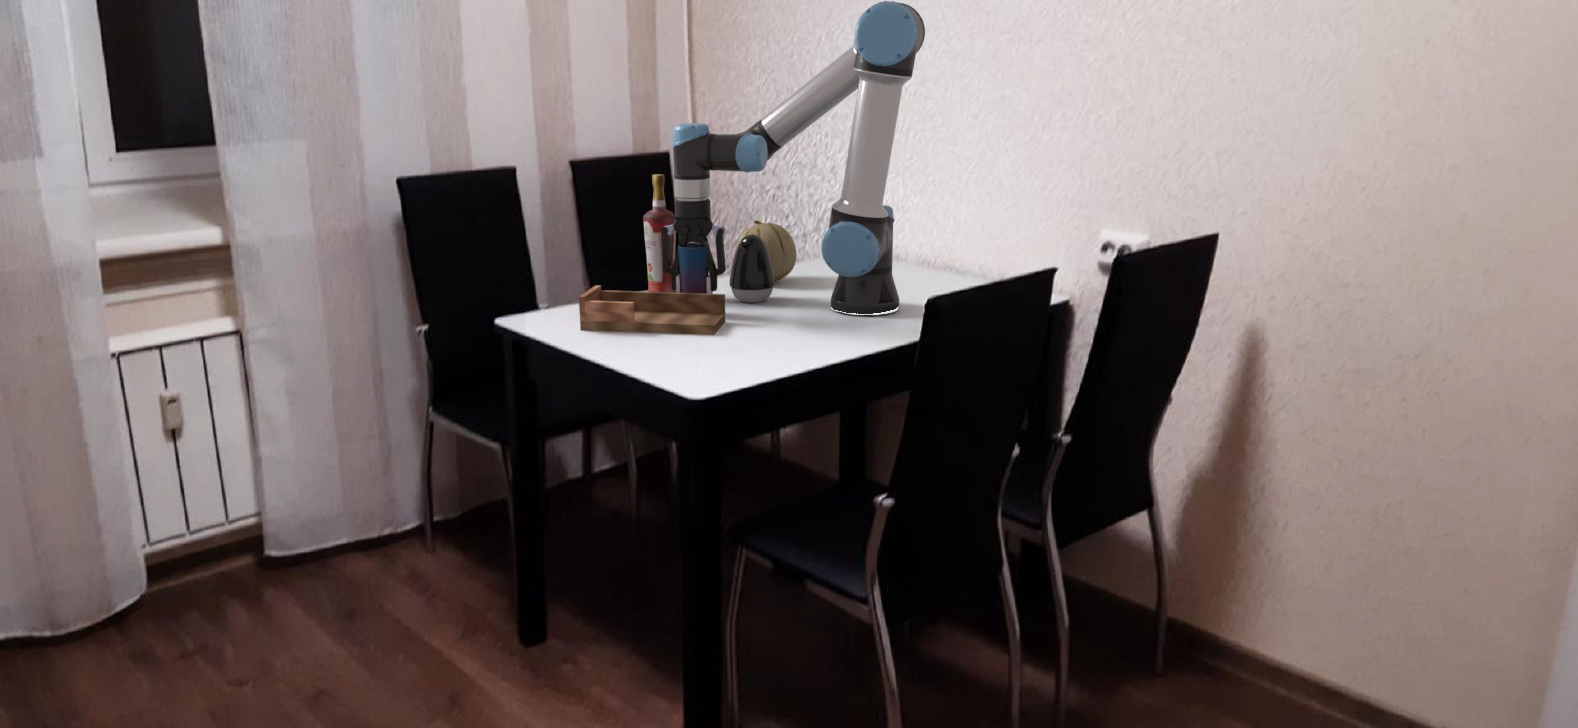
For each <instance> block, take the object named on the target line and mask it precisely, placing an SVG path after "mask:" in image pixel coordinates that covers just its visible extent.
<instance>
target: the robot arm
mask: <svg viewBox="0 0 1578 728" xmlns="http://www.w3.org/2000/svg"><path fill="white" fill-rule="evenodd" d="M925 37H926V27H925V23H924V20H923V18H922V16H921V13H919V12H918V11H917V10H916V8H914V7H913V6H911V5H909V4H907V3H906V4H905V3H903V2H896V1H894V0H892V1H891V0H888V1H887V0H884V1H880V2H876V3H874V4H872V5H871V6H870V7H868V8H867V9H865V11H864V12H863V13H862V14H861V15H860V16H859V18H858V21H857V22H856V25H855V31H854V39H853V45H852V46H851V47H850V48H849V49H847V50H846V51H845V52H843V53H842V54H841V55H840V56H838V57H837V58H836V59H835V60H833V61H832V62H831V63H830V64H829V65H828V66H826V67H825V68H823V69H822V70H821V71H819V72H818V73H817V74H816V75H815V76H814V77H812V78H811V79H809V80H808V81H807V82H806V83H804V85H802V86H800V87H799V88H798V89H797V90H795V91H794V92H793V93H792V94H791V95H790V96H789V97H787V98H786V99H784V100H783V101H781V103H779V104H778V105H777V106H776V107H774V108H773V109H772V110H771V111H769V112H768V113H767V114H766V115H765V116H763V117H762V118H760V119H759V120H758V121H756V123H754V124H753V125H752V126H751V127H749V128H747V130H745V131H742V132H739V133H735V134H732V133H730V134H729V133H728V134H726V133H725V134H723V133H722V134H720V133H718V134H717V133H711V131H710V127H709V124H707V123H701V122H700V123H699V122H697V123H696V122H695V123H694V122H687V123H684V122H683V123H678V124H676V125H675V126H674V127H673V135H672V137H673V141H672V142H673V143H672V149H673V150H672V151H673V152H672V154H673V173H674V174H673V177H674V178H673V182H674V185H673V186H674V187H673V188H674V190H673V191H674V193H673V194H674V197H675V198H677V199H675V200H674V214H675V221H674V223H673V225H669V226H667V225H666V226H664V227H662V228H661V232H662V235H663V238H664V241H663V272H664V273H669V274H670V275H671V278H672V289H673V290H676V293H682V290H681V278H680V267H679V254H678V248H677V250H676V252H675V260H674V263H673V267H671V246H672V234H673V230H674V229H675V231H676V234H677V235H678V237H679V240H678V244H677V247H678V246H680V247H684V248H686V245H687V243H692V242H695V243H699V245H700V247H701V248H702V247H707V246H708V245H710V244H709V240H708V236H709V234H710V233H711V231H712V232H713V233H712V234H713V236H714V237H715V250H716V252H715V253H716V262H715V259H714V257H713V252H712V250H711V248H710V247H709V250H708V249H707V258H706V265H707V268H708V276H707V277H706V280H707V294H714V292H716V291H717V290H718V276H719V275H723V274H724V273H725V272H726V270H727V268H726V257H725V256H726V254H725V243H724V237H725V234H726V233H725V232H726V228H725V227H724V226H718V225H714V223H713V221H712V217H711V216H712V215H711V214H712V213H711V199H710V198H709V197H710V196H711V174H710V173H711V171H713V172H714V171H722V172H723V171H724V172H742V173H743V172H744V173H753V172H755V173H756V172H762V171H763V170H764V169H765V167H766V165H767V162H768V161H769V160H770V159H771V158H772V157H773V155H775V154H776V153H777V152H778V151H780V150H781V149H782V148H783V147H784V146H785V145H786V144H788V143H789V142H791V141H792V140H793V139H794V138H796V137H797V136H799V135H800V134H801V133H802V132H804V131H805V130H806V129H807V128H809V127H810V126H812V125H813V124H814V123H815V122H817V121H818V120H820V118H822V117H823V116H824V115H825V114H827V113H829V112H830V111H831V110H832V109H833V108H835V107H836V106H837V105H839V104H840V103H842V102H843V101H844V100H846V98H848V97H849V96H851V94H853V93H854V92H856V91H857V92H856V93H857V94H856V100H855V106H854V114H853V119H852V124H851V132H850V136H849V138H850V139H849V144H848V150H847V155H846V157H847V158H846V165H845V169H844V175H843V183H842V189H841V195H840V198H839V199H838V200H837V201H835V202H834V203H833V204H831V205H832V206H831V211H830V217H829V223H828V229H827V230H826V232H825V234H824V236H823V238H822V242H821V243H822V244H821V255H822V258H823V261H824V263H825V264H826V266H827V267H829V268H830V270H831V271H833V273H835V274H837V275H838V276H837V278H836V280H835V281H836V282H835V285H834V288H833V290H832V294H831V297H830V308H831V307H832V308H833V309H834V310H838V311H842V312H846V313H856V314H857V313H858V314H873V313H881V312H886V311H890V310H894V309H896V308H897V307H898V306H899V307H900V296H899V293H898V290H897V288H896V284H895V279H894V277H893V255H894V254H893V253H894V251H893V250H894V248H893V247H894V222H895V217H894V209H893V207H891V206H890V205H884V204H883V203H884V199H885V198H884V197H885V192H886V187H887V182H888V181H887V179H888V175H889V168H890V163H891V157H892V151H893V145H894V139H895V133H896V126H897V121H898V115H899V109H900V105H901V99H902V91H903V86H904V85H905V84H906V83H908V82H909V81H910V80H912V78H913V72H914V68H915V62H916V56H917V54H918V53H919V51H920V50H921V49H922V46H923V45H924V42H925ZM716 263H717V265H716Z"/></svg>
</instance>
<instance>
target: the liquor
mask: <svg viewBox="0 0 1578 728" xmlns="http://www.w3.org/2000/svg"><path fill="white" fill-rule="evenodd" d="M651 176H652V177H651V178H652V179H651V180H652V187H653V196H652V209H650V210H649V211H647V212H646V213H645V214H643V216H642V217H643V218H642V220H643V230H644V231H643V232H644V233H643V234H644V242H645V243H644V245H645V253H646V265H647V266H646V268H647V283H648V289H647V291H646V292H673V293H676V290H673V289H672V278H671V275H670V274H669V273H664V272H663V241H664V238H663V235H662V232H661V228H662V227H664V226H666V225H667V226H669V225H673V223H674V221H675V213H673V212H672V211H670V210H668V209H667V205H666V198H665V197H666V196H665V191H664V188H665V174H661V173H660V174H652V175H651ZM676 234H677V232H676V231H675V229H674V230H673V234H672V246H671V267H673V263H674V260H675V256H676V240H677V239H676V238H677V237H676Z"/></svg>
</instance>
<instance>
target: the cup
mask: <svg viewBox="0 0 1578 728" xmlns="http://www.w3.org/2000/svg"><path fill="white" fill-rule="evenodd" d="M709 247H710V244H709V245H708V246H707V247H702V248H701V247H700V245H699V243H695V242H689V243H687V245H686V248H684V247H680V246H678V245H677V249H678V254H679V267H680V270H679V274H680V278H681V290H682V293H703V294H707V280H706V277H707V276H709V271H708V268H707V265H706V258H707V249H708V250H709Z"/></svg>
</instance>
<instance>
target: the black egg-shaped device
mask: <svg viewBox="0 0 1578 728" xmlns="http://www.w3.org/2000/svg"><path fill="white" fill-rule="evenodd" d="M737 245H738V246H736V249H735V253H734V255H733V258H732V262H731V263H732V264H731V268H730V273H729V287H730V288H731V292H732V294H733V296H734V298H736V299H737V300H738V301H739V302H742V303H744V304H745V303H746V304H757V303H758V304H760V303H762V302H764V301H766V300H767V299H768V298H770V297H771V295H772V292H773V290H774V287H775V280H774V272H773V267H772V263H771V259H770V256H769V252H768V250H767V247H766V245H765V243H764V242H763V240H762V239H761V238H760V237H759V236H757V235H754V234H750V235H746V236H745V237H743V238H742V239H741V241H740V242H739V244H738V243H737Z"/></svg>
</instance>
